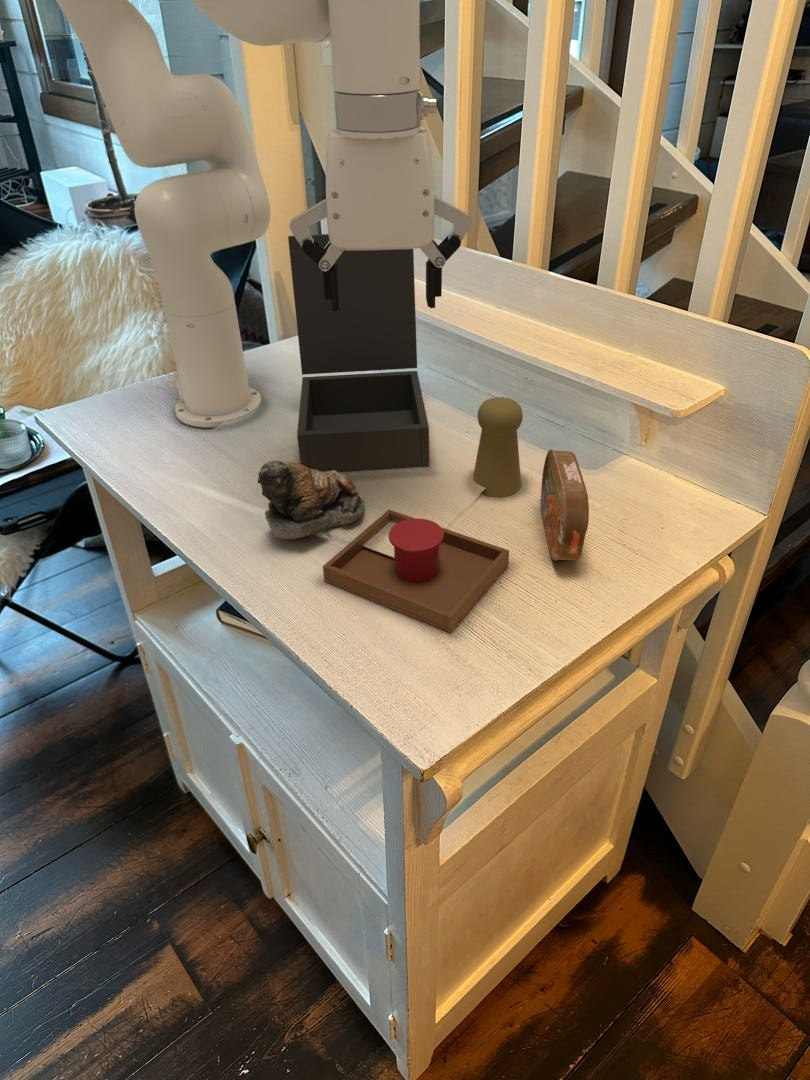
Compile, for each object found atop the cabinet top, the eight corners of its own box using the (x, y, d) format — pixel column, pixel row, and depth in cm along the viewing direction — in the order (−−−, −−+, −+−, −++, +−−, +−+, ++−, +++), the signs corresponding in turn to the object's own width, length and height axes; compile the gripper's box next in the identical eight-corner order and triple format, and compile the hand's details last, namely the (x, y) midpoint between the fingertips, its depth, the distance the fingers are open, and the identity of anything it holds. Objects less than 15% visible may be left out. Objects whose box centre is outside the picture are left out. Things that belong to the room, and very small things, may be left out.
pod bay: (429, 473, 96) (428, 427, 92) (302, 480, 95) (297, 434, 91) (418, 412, 110) (417, 370, 106) (307, 419, 109) (302, 377, 105)
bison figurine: (347, 498, 92) (340, 424, 86) (378, 525, 87) (374, 448, 81) (257, 533, 86) (243, 456, 80) (285, 563, 81) (273, 484, 76)
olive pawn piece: (519, 499, 90) (525, 415, 84) (469, 494, 91) (471, 412, 85) (523, 473, 95) (529, 392, 89) (475, 469, 96) (477, 389, 90)
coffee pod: (379, 574, 79) (377, 539, 76) (408, 547, 82) (407, 512, 80) (426, 592, 76) (425, 556, 74) (453, 562, 80) (453, 528, 77)
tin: (538, 498, 90) (543, 435, 86) (564, 497, 90) (571, 435, 85) (554, 577, 78) (561, 509, 73) (584, 577, 78) (594, 509, 73)
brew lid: (412, 230, 97) (409, 227, 102) (287, 236, 97) (290, 233, 102) (417, 368, 105) (414, 359, 110) (301, 374, 104) (304, 365, 109)
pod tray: (324, 581, 79) (322, 566, 78) (389, 523, 87) (388, 509, 86) (450, 633, 72) (450, 617, 71) (508, 565, 80) (509, 550, 79)
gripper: (469, 105, 70) (463, 290, 80) (282, 110, 69) (300, 295, 80) (480, 118, 64) (472, 315, 74) (275, 123, 63) (295, 321, 74)
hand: (383, 305), depth 77 cm, fingers open, 9 cm apart
